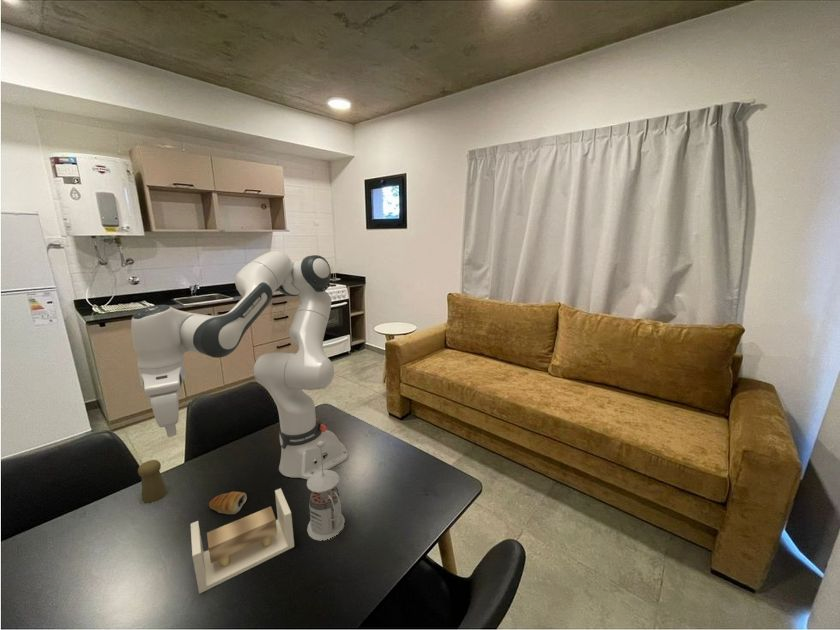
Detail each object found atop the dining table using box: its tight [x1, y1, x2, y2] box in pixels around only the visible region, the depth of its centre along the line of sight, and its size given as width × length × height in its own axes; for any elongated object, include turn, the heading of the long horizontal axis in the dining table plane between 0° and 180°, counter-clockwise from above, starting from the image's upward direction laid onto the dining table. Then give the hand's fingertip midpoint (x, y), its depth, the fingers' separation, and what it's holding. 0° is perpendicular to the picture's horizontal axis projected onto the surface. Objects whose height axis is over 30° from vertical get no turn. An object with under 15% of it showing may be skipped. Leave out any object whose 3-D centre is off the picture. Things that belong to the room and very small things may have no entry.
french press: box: [306, 441, 346, 542], centre depth 87 cm, size 10×12×25 cm
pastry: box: [208, 490, 248, 515], centre depth 97 cm, size 9×7×4 cm
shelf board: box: [206, 505, 277, 563], centre depth 81 cm, size 14×5×4 cm, turn 125°
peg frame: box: [190, 487, 295, 595], centre depth 82 cm, size 20×10×10 cm, turn 125°
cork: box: [137, 459, 168, 504], centre depth 99 cm, size 6×6×11 cm
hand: (172, 426), depth 84 cm, fingers open, 8 cm apart
